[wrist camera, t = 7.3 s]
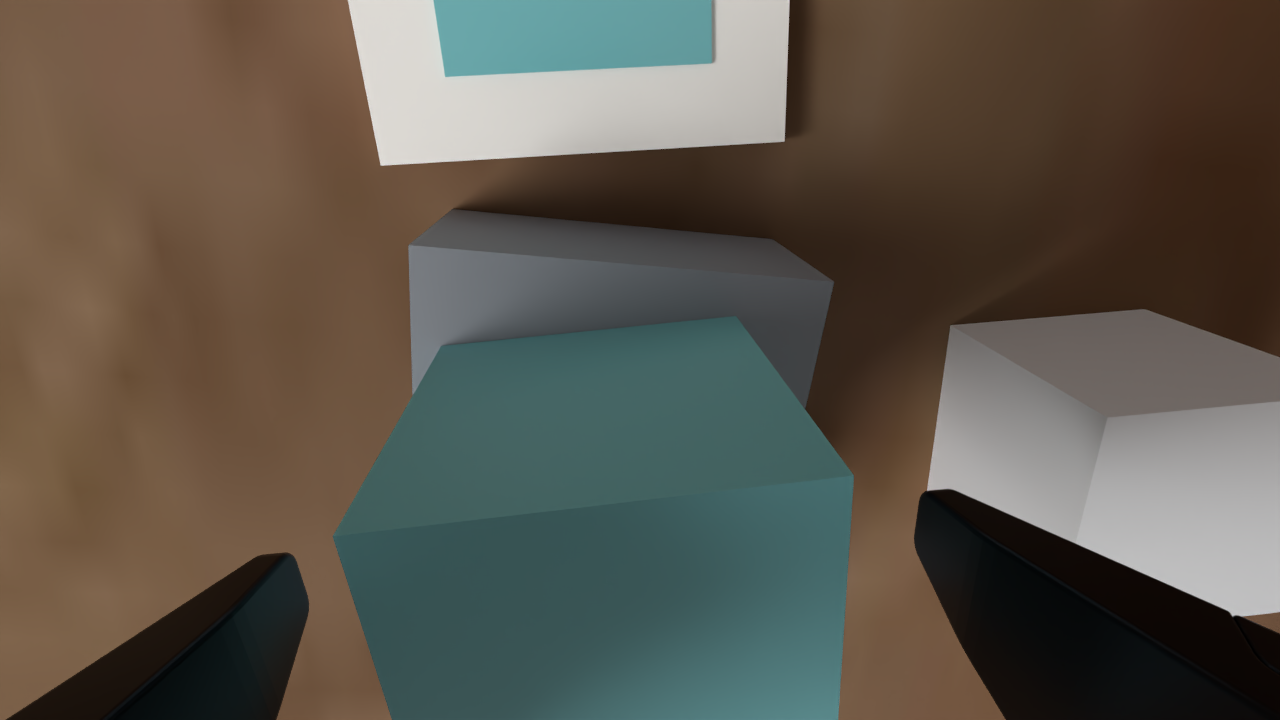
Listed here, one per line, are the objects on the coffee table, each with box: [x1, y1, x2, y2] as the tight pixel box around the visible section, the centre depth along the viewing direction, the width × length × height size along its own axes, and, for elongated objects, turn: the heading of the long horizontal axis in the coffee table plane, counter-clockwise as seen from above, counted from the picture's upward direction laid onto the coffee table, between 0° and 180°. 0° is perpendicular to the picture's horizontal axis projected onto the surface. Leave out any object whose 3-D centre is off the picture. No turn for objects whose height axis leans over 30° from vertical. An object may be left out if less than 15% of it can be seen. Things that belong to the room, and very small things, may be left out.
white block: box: [927, 309, 1280, 616], centre depth 14 cm, size 5×5×5 cm
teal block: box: [333, 316, 854, 720], centre depth 9 cm, size 5×5×5 cm
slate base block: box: [409, 209, 834, 409], centre depth 13 cm, size 7×7×4 cm
